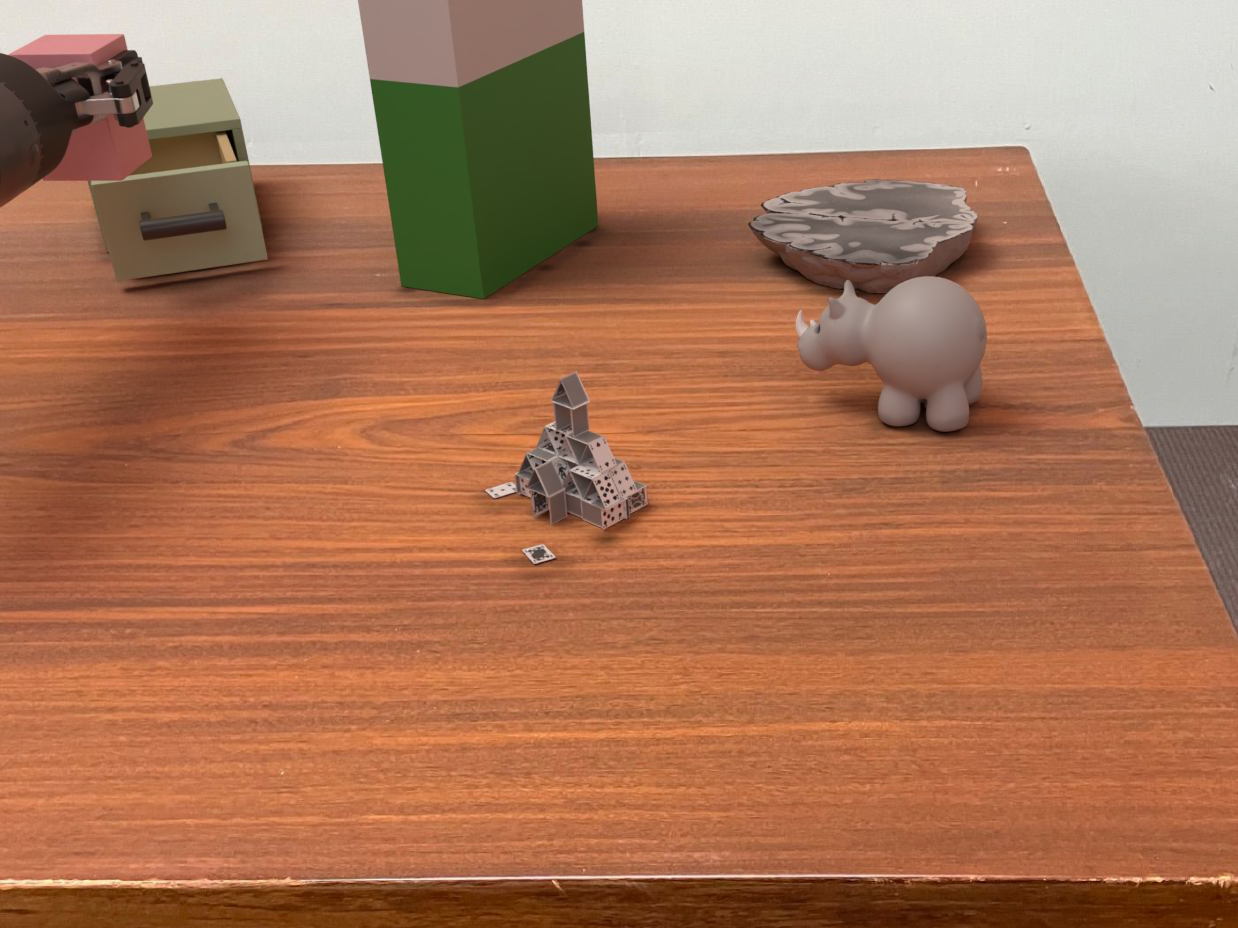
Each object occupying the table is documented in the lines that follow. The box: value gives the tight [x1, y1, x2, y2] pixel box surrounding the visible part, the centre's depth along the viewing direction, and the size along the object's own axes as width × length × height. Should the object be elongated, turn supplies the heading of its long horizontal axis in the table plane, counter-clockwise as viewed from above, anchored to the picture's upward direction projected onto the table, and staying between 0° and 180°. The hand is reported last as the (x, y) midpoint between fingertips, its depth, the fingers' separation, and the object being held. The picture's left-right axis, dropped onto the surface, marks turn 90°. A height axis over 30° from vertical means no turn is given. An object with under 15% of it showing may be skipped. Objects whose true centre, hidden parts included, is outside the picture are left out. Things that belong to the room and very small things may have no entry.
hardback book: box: [357, 0, 599, 300], centre depth 114 cm, size 18×7×24 cm, turn 154°
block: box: [8, 33, 152, 182], centre depth 101 cm, size 6×6×8 cm
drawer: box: [91, 131, 269, 282], centre depth 119 cm, size 18×11×7 cm, turn 20°
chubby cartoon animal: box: [794, 276, 988, 433], centre depth 93 cm, size 7×12×8 cm, turn 67°
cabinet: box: [87, 77, 264, 253], centre depth 129 cm, size 15×13×9 cm
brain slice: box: [747, 178, 979, 294], centre depth 117 cm, size 20×17×3 cm
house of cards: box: [484, 370, 649, 565], centre depth 84 cm, size 9×9×8 cm
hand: (90, 66), depth 102 cm, fingers closed on block, 5 cm apart
